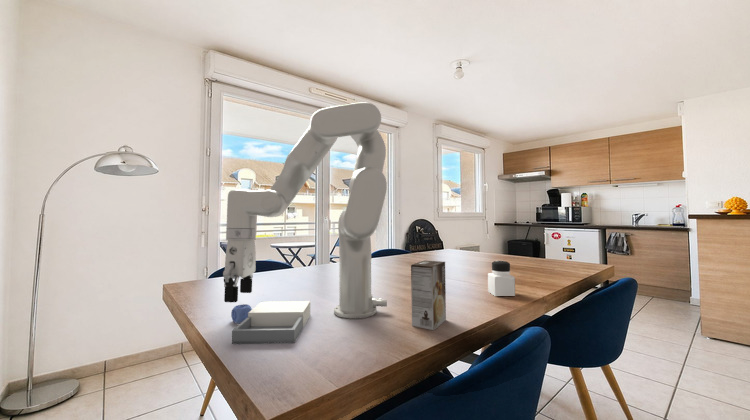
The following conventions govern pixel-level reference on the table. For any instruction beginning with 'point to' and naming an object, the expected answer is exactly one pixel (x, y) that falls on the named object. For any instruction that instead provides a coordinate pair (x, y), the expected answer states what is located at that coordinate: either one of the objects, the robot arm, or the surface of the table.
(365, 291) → the robot arm
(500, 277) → the medicine bottle
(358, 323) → the table surface
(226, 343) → the table surface
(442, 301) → the coffee box
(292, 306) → the white box lid
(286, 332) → the box
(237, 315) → the decorative dice
